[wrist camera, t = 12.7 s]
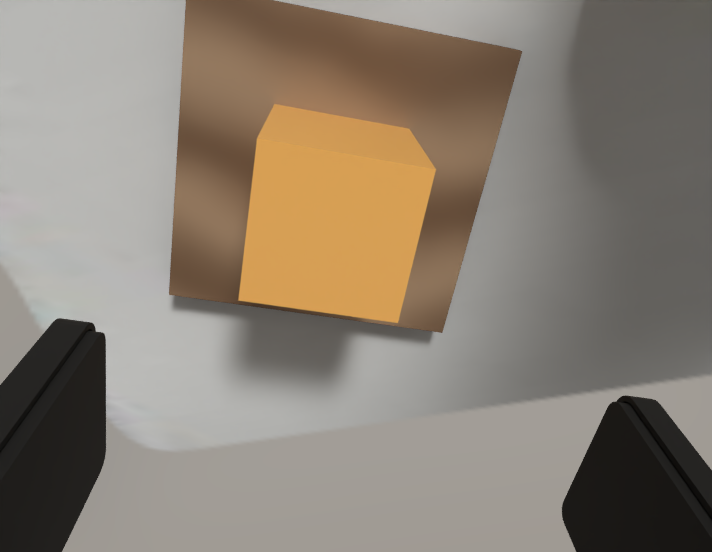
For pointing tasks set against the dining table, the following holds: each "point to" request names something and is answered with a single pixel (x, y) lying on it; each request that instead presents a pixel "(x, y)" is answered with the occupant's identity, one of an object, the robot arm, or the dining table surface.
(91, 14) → the dining table surface
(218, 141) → the walnut board
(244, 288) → the plain orange cube
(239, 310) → the dining table surface
